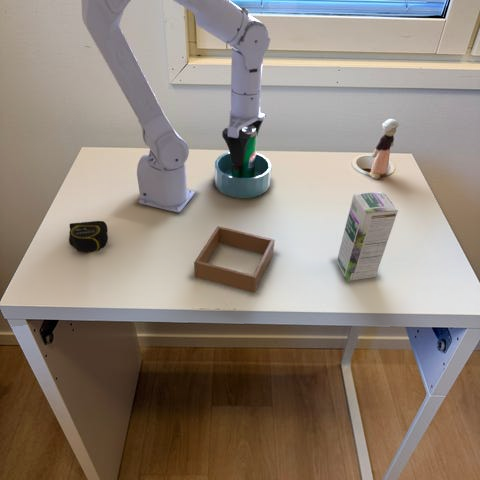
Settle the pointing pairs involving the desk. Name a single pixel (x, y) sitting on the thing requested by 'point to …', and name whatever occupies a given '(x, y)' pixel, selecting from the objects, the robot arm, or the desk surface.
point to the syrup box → (366, 235)
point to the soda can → (247, 156)
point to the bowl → (242, 185)
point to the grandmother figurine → (383, 149)
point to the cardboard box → (228, 275)
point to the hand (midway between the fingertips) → (243, 155)
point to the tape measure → (88, 236)
